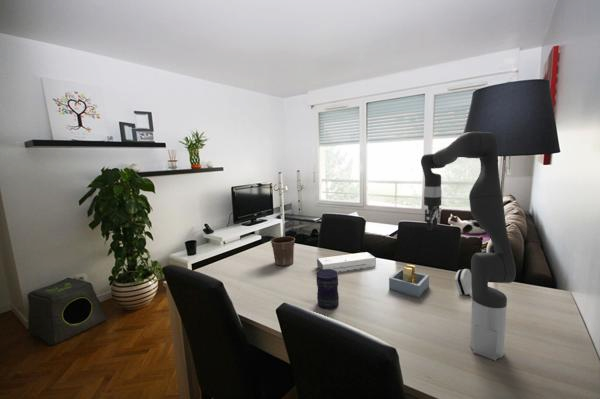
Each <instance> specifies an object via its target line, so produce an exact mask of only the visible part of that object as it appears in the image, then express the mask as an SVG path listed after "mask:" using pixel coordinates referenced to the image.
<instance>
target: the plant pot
mask: <svg viewBox="0 0 600 399" xmlns="http://www.w3.org/2000/svg"><path fill="white" fill-rule="evenodd" d="M295 241H296V238H295V237H293V236H278V237H277V236H276V237H274V238H272V239H270V244H271V247H272V251H273V257H274V263H276V264H277V265H276V264H275V265H276V266H279V265H288V266H290V265H292V263H293V264H294V254H295V252H294V251H295Z"/></svg>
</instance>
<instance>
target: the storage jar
mask: <svg viewBox="0 0 600 399" xmlns="http://www.w3.org/2000/svg"><path fill="white" fill-rule="evenodd" d="M316 286H317V293H316V295H317V297H316V298H317V307H319V308H320V309H321V310H327V311H332V310H335V309H338V307H339V304H340V303H339V300H340V298H339V287H338V286H339V272H337V271H335V270H332V269H323V270H320V269H319V270H317V271H316Z"/></svg>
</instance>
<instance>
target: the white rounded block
mask: <svg viewBox="0 0 600 399" xmlns="http://www.w3.org/2000/svg"><path fill="white" fill-rule="evenodd" d="M454 282H455V284H456V288H457V292H458V294H459V295H460V296H461V295H469V296H470V298H472V286H471V269H469V268H464V269H462V268H461V269H459V270H457V272H456V274H455V276H454Z"/></svg>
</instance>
